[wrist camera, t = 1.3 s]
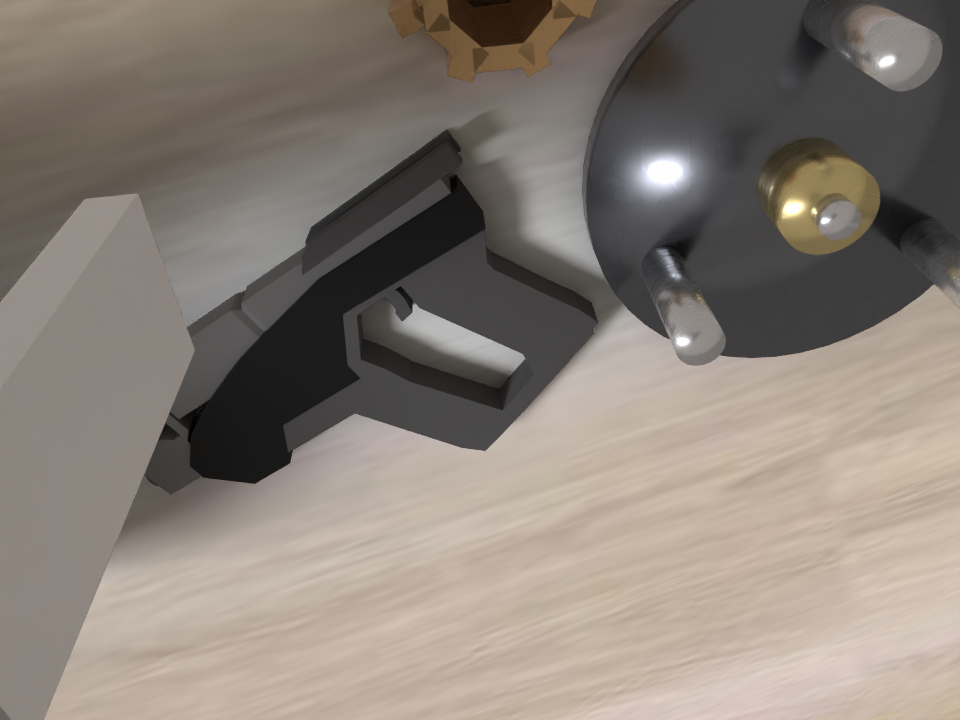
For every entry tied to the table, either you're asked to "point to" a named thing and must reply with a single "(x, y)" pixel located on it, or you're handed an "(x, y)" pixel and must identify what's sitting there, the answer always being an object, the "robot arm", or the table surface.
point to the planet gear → (490, 31)
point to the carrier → (779, 171)
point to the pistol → (339, 340)
